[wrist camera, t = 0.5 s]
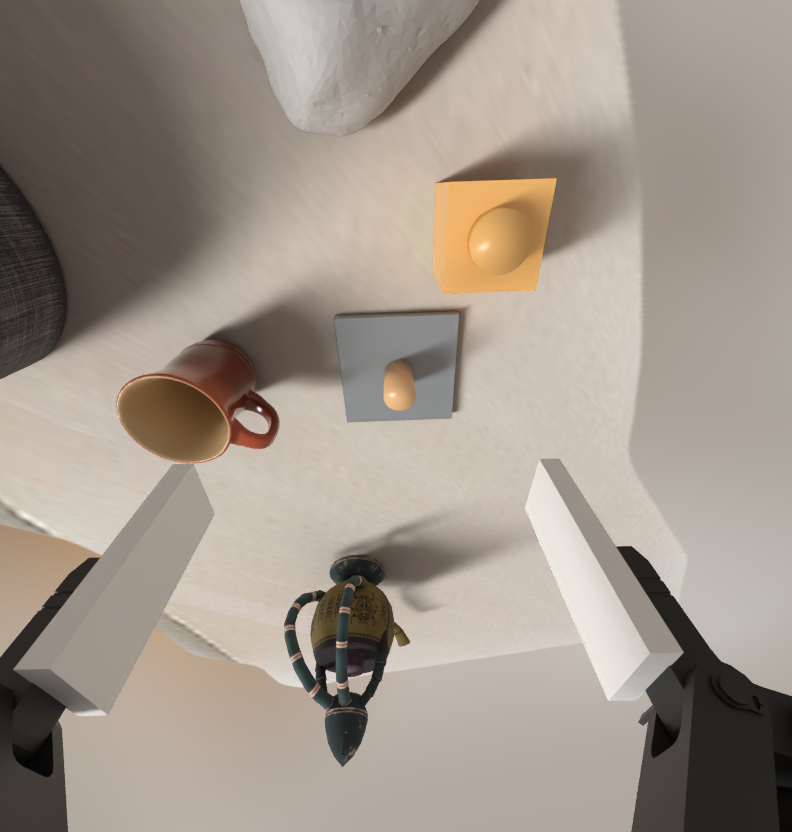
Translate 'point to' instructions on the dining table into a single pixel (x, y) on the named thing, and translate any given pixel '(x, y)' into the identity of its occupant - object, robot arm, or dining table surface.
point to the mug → (196, 405)
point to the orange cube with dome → (490, 234)
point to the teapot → (346, 646)
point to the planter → (26, 285)
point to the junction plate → (397, 344)
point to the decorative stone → (346, 54)
